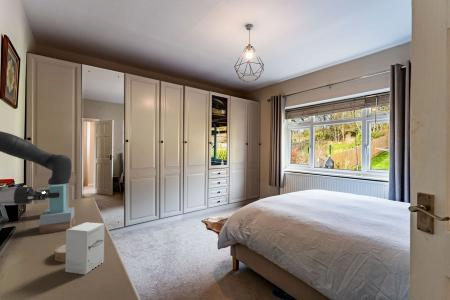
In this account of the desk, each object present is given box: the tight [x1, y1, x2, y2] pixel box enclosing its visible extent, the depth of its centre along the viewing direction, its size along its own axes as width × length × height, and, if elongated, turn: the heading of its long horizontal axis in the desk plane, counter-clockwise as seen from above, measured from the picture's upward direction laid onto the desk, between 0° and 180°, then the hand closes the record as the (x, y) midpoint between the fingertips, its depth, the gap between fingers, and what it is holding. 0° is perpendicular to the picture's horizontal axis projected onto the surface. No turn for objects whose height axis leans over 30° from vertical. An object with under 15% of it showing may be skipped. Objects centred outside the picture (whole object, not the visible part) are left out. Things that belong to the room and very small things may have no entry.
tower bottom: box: [38, 214, 76, 234], centre depth 102 cm, size 11×11×4 cm
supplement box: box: [64, 221, 105, 275], centre depth 67 cm, size 7×7×13 cm
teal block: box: [50, 184, 66, 213], centre depth 101 cm, size 5×5×12 cm
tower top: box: [39, 206, 75, 226], centre depth 102 cm, size 11×11×4 cm
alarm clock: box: [53, 238, 106, 263], centre depth 77 cm, size 11×5×15 cm
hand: (62, 193), depth 101 cm, fingers open, 8 cm apart
